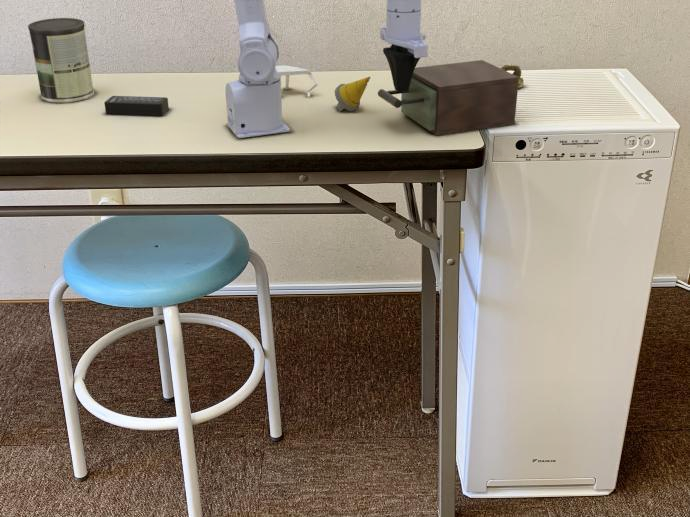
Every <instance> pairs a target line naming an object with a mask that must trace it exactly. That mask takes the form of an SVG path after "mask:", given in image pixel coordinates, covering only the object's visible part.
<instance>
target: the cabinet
mask: <svg viewBox="0 0 690 517" xmlns="http://www.w3.org/2000/svg"><path fill="white" fill-rule="evenodd" d="M412 77H413V78H415V79H418V80H420V81H422V82H423V83H425V84H427V85H429V86H430V87H432V88H434V89H436V90H437V105H436V126H435V130H430V131H429V132H430V133H432V134H434V136H437V137H438V136H444V135H451V134H457V133H465V132H472V131H479V130H485V129H492V128H493V129H494V128H500V127H507V126H514V125H516V114H517V113H516V112H517V101H518V93H519V92H518V91H519V88H518V81H519V77H517V76H515V75H513V73H511V72H509V71H508V70H507V71H505V70H502V69H501V68H500V67H498V66H496V65H494V64H492V63H489V62H487V61H485V60H483V59H482V60H481V59H479V60H471V61H463V62H461V61H460V62H453V63H445V64H435V65H426V66H418V67H417V66H416V67H415V69H414V72H413V75H412Z"/></svg>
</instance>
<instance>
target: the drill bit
mask: <svg viewBox="0 0 690 517" xmlns="http://www.w3.org/2000/svg"><path fill="white" fill-rule="evenodd" d="M370 80H371V76H366V77H364V78H361V79H359V80H356V81H352V82H348V83H341V84H339V85H338V86H337V87H336V88H335V90H334V97H335V99H336V101H337V104H336V108H337V109H338V110H339V112H343V111H344V110H346V111H350V112H353V111H355V110H357V109H358V108H359V107H360V105H361V99H362V97H363V95H364V93H365V90H366V88H367V86H368V83H369V82H370Z"/></svg>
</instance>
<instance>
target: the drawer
mask: <svg viewBox="0 0 690 517" xmlns="http://www.w3.org/2000/svg"><path fill="white" fill-rule="evenodd" d="M399 94H401V95H400V96H401V100H400V99H399V98H398V97H396V96H394V95H399ZM377 96H378V97H379V98H381V99H382V100H384V101H385V102H387V103H388V104H390V105H391V106H393V107H394V108H395V109H398V108H399V109H400V112H401V113H402V114H404V115H405V116H406V117H408V118H410V119H411V120H413V121H414V122H415V123H417V124H419V126H422V127H423V128H425V129H426V130H428V131H429V132H431V131H430V130H435V126H436V105H437V90H436V89H434V88H432V87H430V86H429V85H427V84H425V83H423V82H422V81H420V80H418V79H415V78H413V77H412V79H411V83H410V86H409V89H408V90H405V91H397V90H395V89H392V90H385V89H383V88H381V89H379V90H378V91H377Z"/></svg>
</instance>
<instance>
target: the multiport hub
mask: <svg viewBox="0 0 690 517" xmlns="http://www.w3.org/2000/svg"><path fill="white" fill-rule="evenodd" d="M104 110H105V115H107V116H108V115H112V116H137V117H164V115H165V114H167V112H169V111H170V107H169V98H168V97H162V96H160V97H159V96H134V95H133V96H131V95H130V96H129V95H112V96H110V97H109V98H108V99H106V100H105V101H104Z"/></svg>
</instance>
